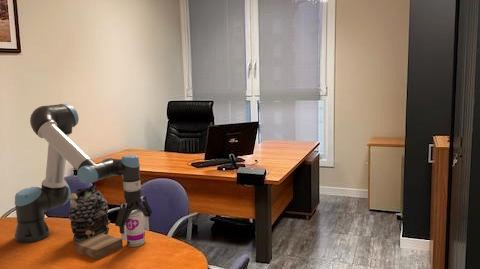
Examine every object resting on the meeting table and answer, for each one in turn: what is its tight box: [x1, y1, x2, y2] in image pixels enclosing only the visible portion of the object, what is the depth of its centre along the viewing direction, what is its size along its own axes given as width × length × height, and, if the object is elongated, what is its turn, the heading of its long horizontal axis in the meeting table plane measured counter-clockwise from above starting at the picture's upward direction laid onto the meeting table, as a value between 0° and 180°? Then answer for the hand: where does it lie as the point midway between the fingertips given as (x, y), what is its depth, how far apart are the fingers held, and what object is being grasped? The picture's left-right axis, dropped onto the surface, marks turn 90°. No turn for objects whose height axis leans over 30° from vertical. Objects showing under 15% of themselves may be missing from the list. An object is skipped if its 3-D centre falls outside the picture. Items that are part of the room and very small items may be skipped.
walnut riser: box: [75, 233, 124, 260], centre depth 187 cm, size 14×14×4 cm
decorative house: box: [68, 184, 111, 244], centre depth 201 cm, size 21×15×25 cm
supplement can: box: [124, 209, 146, 248], centre depth 192 cm, size 8×8×15 cm
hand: (135, 234), depth 193 cm, fingers open, 13 cm apart
